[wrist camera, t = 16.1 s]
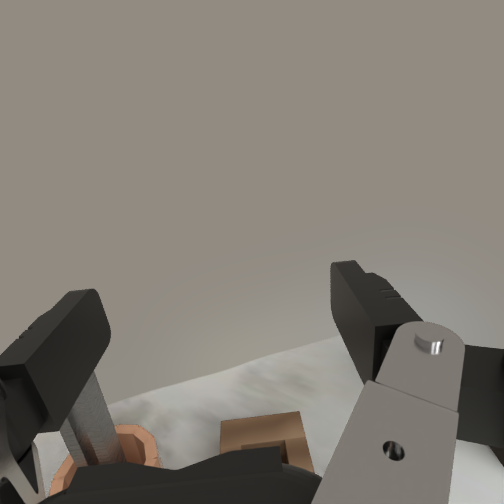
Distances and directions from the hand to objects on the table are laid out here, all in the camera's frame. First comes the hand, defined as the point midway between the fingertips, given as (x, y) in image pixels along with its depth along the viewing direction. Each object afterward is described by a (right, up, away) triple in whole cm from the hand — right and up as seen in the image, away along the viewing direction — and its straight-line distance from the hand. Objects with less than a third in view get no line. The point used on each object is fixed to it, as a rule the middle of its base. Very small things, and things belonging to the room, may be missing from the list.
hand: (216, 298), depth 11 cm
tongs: (-11, -24, +20) cm, 33 cm away
